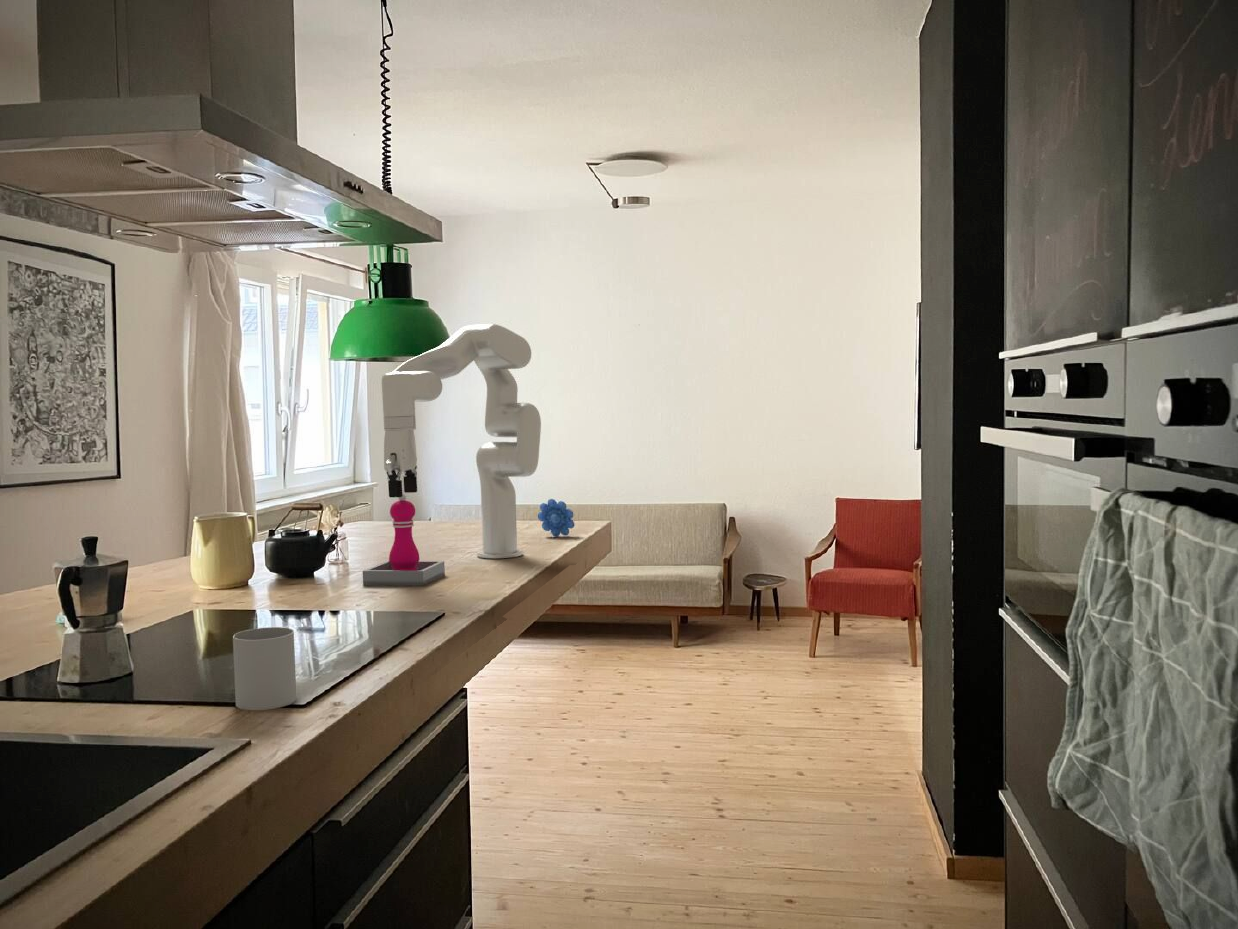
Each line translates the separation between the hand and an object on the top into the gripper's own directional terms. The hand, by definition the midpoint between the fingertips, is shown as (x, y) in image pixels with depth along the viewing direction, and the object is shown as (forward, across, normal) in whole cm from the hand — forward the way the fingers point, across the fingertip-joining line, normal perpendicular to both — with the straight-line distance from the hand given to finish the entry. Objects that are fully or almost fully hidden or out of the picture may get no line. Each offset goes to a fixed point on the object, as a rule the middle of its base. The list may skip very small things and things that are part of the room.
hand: (403, 494), depth 250 cm
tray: (+21, +1, 0) cm, 21 cm away
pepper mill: (+20, +1, 0) cm, 20 cm away
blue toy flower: (+23, -78, +19) cm, 83 cm away
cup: (+19, +100, +17) cm, 104 cm away
